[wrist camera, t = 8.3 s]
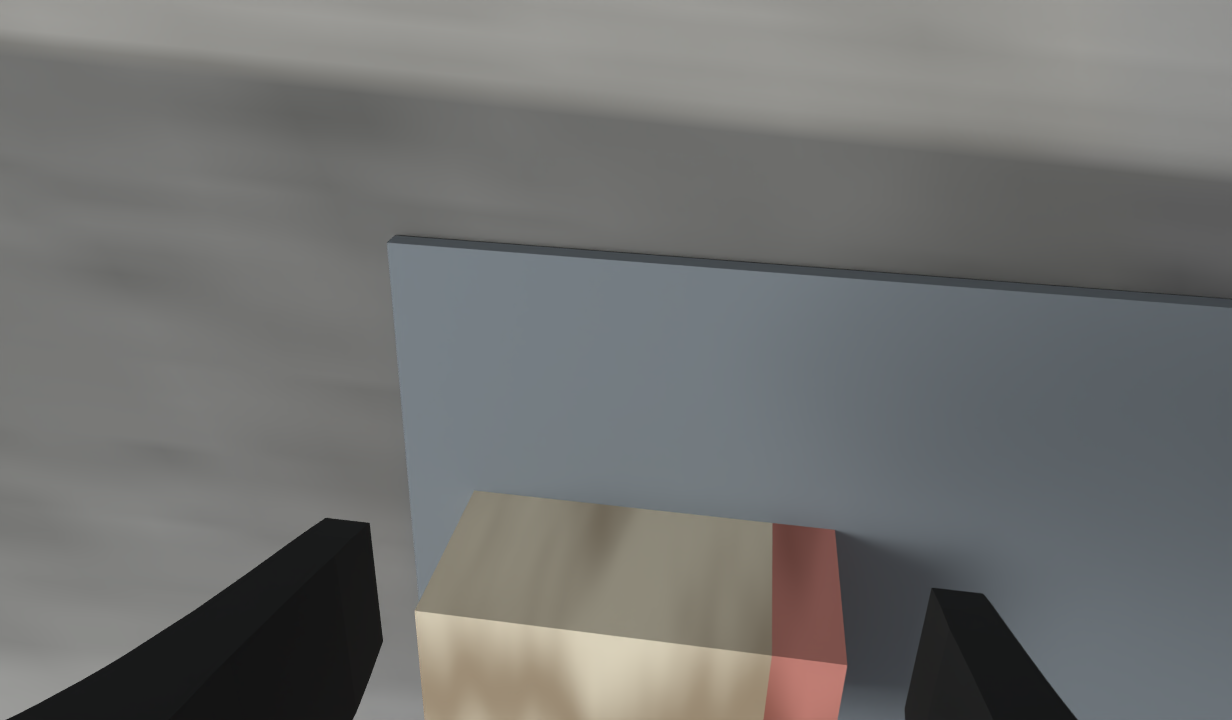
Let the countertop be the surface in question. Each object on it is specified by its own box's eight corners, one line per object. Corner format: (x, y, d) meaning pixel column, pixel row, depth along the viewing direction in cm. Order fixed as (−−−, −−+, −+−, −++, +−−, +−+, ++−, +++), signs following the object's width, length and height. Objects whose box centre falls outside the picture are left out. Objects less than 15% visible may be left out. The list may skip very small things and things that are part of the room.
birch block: (817, 831, 21) (429, 774, 22) (810, 682, 25) (481, 639, 26) (847, 665, 19) (414, 610, 20) (834, 529, 23) (474, 490, 24)
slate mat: (1279, 852, 26) (1288, 868, 26) (437, 732, 29) (431, 745, 29) (1553, 323, 19) (1572, 334, 18) (394, 235, 22) (386, 242, 21)
